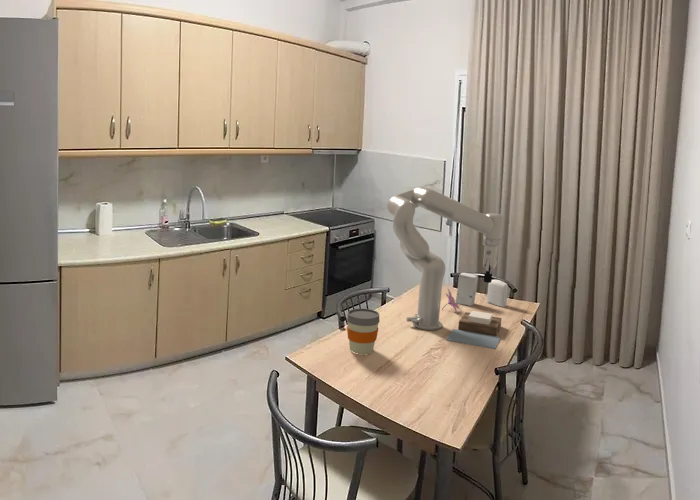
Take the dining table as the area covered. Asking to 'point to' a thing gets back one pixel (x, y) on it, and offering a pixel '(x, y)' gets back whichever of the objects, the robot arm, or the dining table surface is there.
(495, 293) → the photo printer
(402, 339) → the dining table surface
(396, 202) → the robot arm
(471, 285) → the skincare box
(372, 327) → the reusable coffee cup
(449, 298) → the lily
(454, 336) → the mat
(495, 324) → the block
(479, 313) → the tile
